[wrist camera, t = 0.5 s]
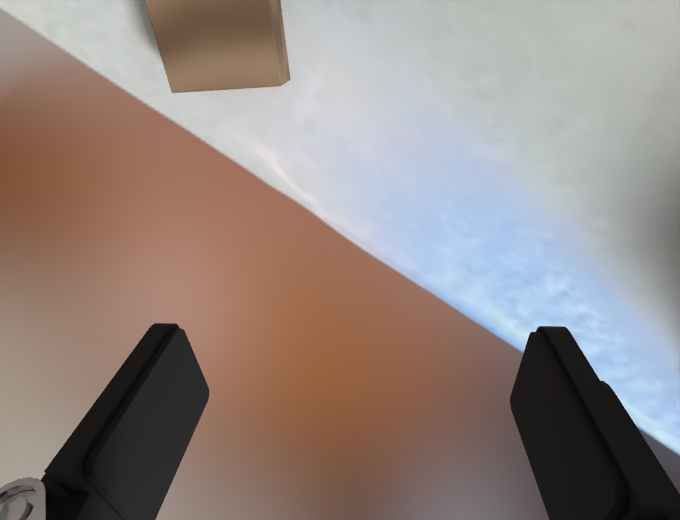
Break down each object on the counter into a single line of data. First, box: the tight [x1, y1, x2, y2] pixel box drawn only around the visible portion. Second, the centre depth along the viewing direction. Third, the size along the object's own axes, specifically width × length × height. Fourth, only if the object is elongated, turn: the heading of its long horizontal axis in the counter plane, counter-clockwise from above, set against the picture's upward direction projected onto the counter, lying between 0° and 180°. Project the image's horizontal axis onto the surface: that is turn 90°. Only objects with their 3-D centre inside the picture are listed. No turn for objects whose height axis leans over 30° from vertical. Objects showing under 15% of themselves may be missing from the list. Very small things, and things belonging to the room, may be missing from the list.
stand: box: [145, 0, 290, 93], centre depth 28 cm, size 9×9×4 cm
